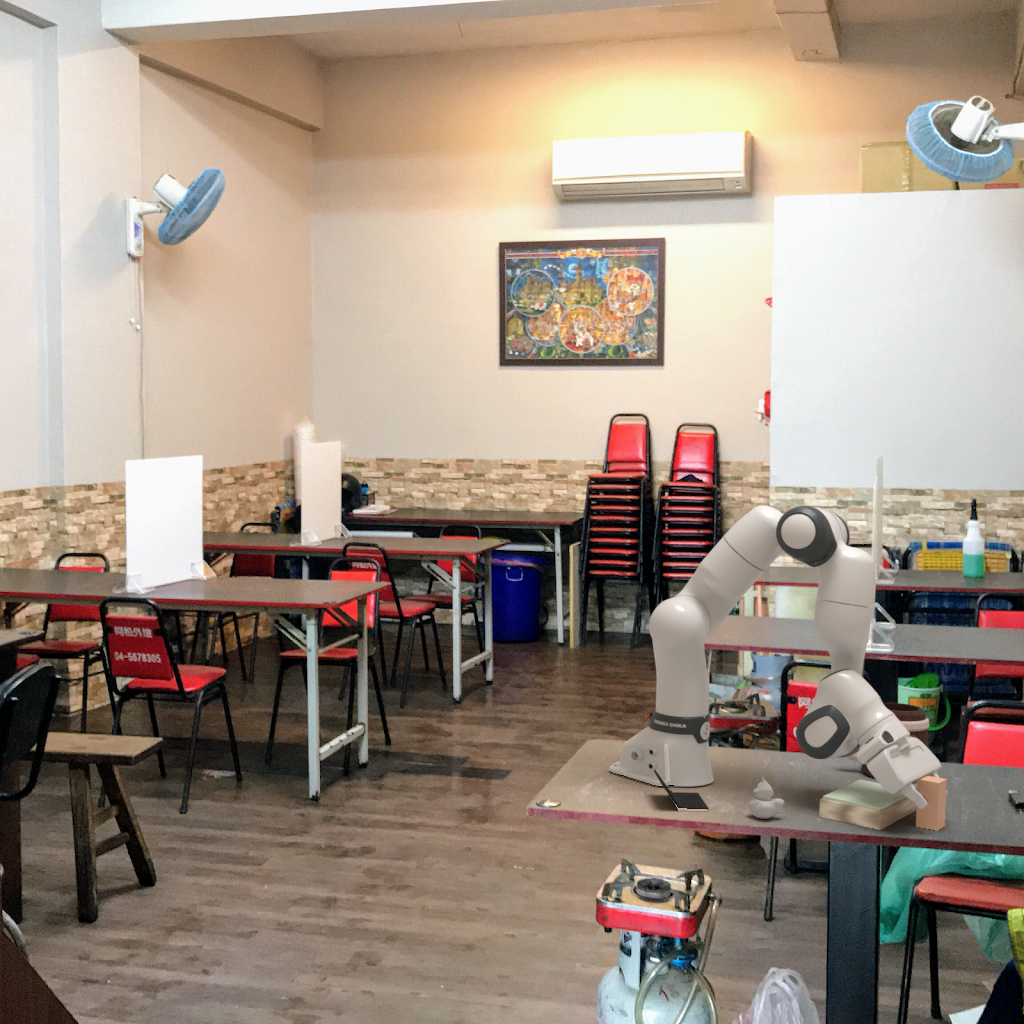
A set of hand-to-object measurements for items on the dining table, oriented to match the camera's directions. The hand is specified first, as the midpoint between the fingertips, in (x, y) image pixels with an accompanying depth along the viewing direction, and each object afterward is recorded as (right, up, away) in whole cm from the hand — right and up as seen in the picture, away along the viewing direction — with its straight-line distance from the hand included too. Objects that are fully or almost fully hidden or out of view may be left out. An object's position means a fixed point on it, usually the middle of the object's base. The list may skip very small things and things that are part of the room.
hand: (934, 801), depth 222 cm
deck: (-10, -4, +8) cm, 14 cm away
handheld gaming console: (-46, -4, +12) cm, 47 cm away
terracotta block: (-1, -5, +1) cm, 5 cm away
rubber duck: (-31, -4, +3) cm, 31 cm away
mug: (+3, -4, +39) cm, 40 cm away
